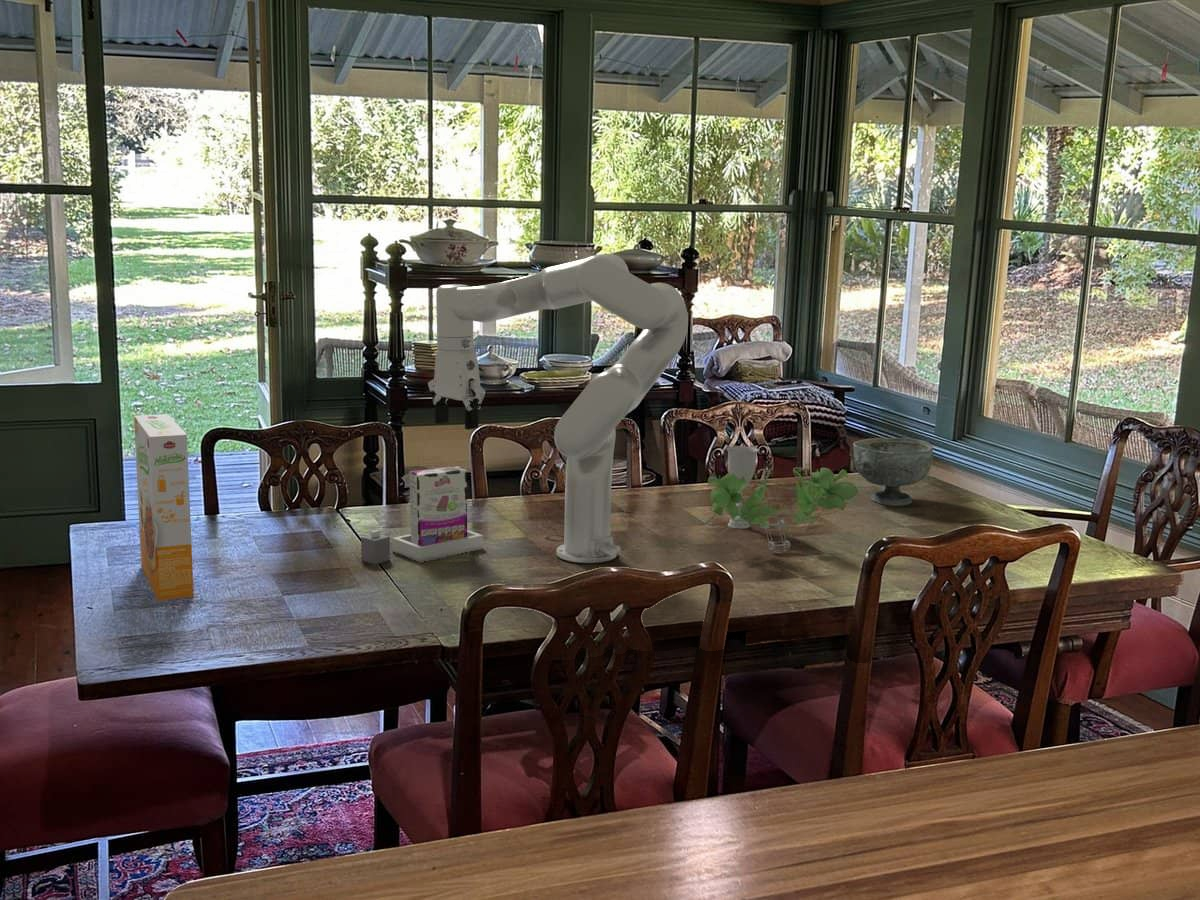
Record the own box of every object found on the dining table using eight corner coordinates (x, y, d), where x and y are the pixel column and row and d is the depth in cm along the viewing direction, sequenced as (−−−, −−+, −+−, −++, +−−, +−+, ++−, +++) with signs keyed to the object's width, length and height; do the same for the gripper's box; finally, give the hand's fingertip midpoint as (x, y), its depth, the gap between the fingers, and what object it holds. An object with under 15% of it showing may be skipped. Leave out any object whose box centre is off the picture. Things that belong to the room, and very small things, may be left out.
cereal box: (141, 566, 240) (133, 415, 234) (174, 563, 243) (168, 413, 237) (157, 600, 220) (149, 436, 214) (193, 596, 223) (186, 434, 217)
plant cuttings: (686, 577, 265) (723, 539, 246) (670, 505, 272) (705, 462, 253) (829, 565, 276) (875, 528, 257) (811, 496, 283) (854, 455, 264)
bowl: (847, 490, 321) (851, 433, 318) (923, 494, 318) (928, 437, 315) (852, 508, 301) (856, 448, 298) (933, 513, 299) (938, 452, 296)
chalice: (719, 527, 281) (722, 450, 277) (727, 520, 287) (731, 444, 283) (750, 531, 278) (754, 453, 274) (758, 524, 284) (762, 448, 280)
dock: (483, 549, 258) (483, 535, 257) (420, 562, 247) (420, 548, 247) (454, 538, 265) (454, 525, 264) (392, 551, 254) (392, 537, 254)
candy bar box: (458, 540, 261) (458, 465, 258) (468, 546, 257) (468, 470, 253) (408, 546, 255) (408, 469, 252) (418, 552, 251) (417, 474, 248)
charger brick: (389, 560, 249) (389, 530, 247) (375, 564, 245) (374, 534, 244) (376, 556, 251) (375, 527, 250) (361, 560, 248) (361, 531, 246)
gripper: (496, 346, 251) (497, 428, 255) (443, 340, 263) (444, 418, 266) (468, 349, 246) (469, 433, 249) (415, 342, 258) (416, 422, 261)
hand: (456, 425), depth 258 cm, fingers open, 9 cm apart
